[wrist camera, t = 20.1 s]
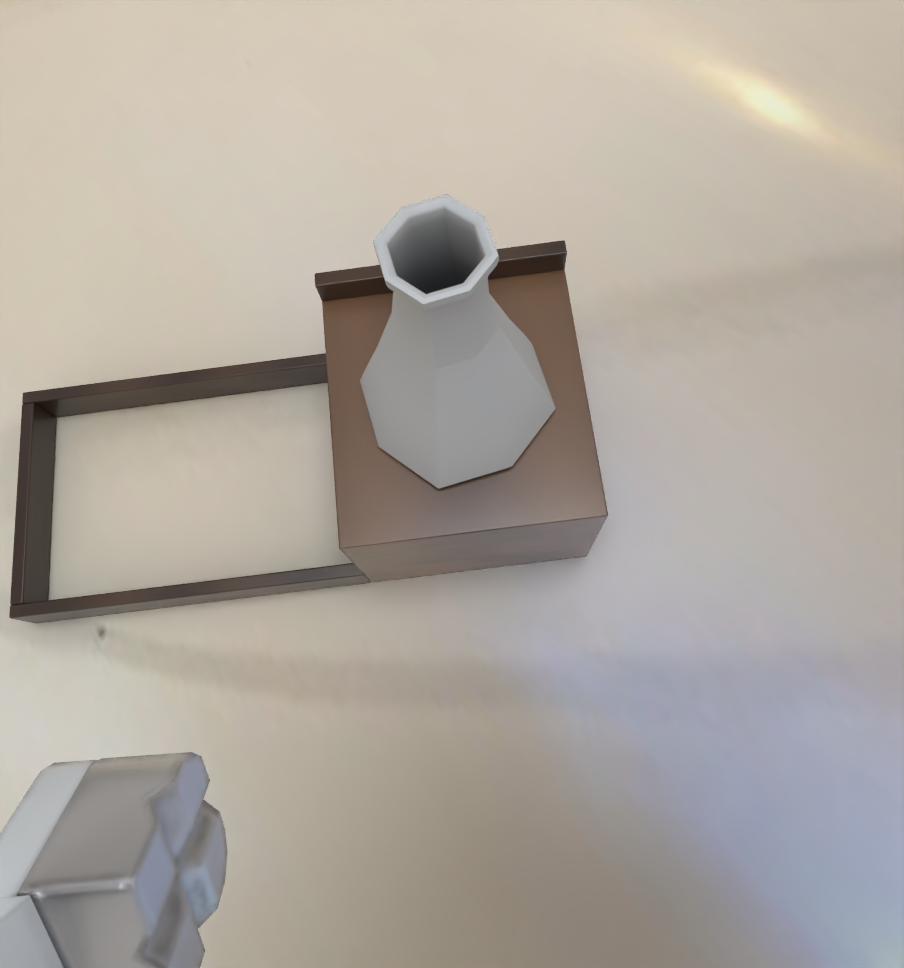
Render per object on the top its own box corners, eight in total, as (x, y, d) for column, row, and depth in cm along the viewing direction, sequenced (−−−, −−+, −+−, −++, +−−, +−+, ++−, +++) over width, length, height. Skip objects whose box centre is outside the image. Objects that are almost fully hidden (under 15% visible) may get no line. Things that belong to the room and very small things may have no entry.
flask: (330, 379, 30) (250, 225, 21) (478, 282, 31) (467, 91, 22) (432, 523, 28) (397, 426, 19) (588, 415, 29) (630, 270, 20)
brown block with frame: (551, 342, 38) (564, 239, 30) (586, 556, 35) (612, 507, 27) (45, 408, 39) (-78, 325, 31) (34, 623, 36) (-106, 595, 28)
